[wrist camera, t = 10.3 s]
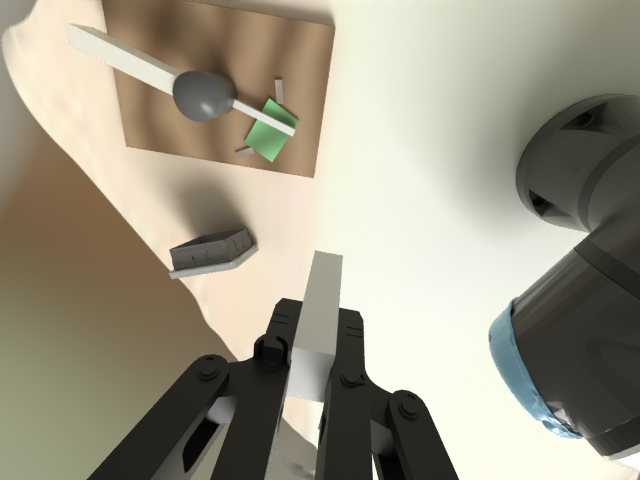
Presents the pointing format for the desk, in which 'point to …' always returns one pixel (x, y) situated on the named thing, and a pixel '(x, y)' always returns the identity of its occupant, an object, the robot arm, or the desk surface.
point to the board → (241, 67)
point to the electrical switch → (212, 253)
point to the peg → (170, 78)
